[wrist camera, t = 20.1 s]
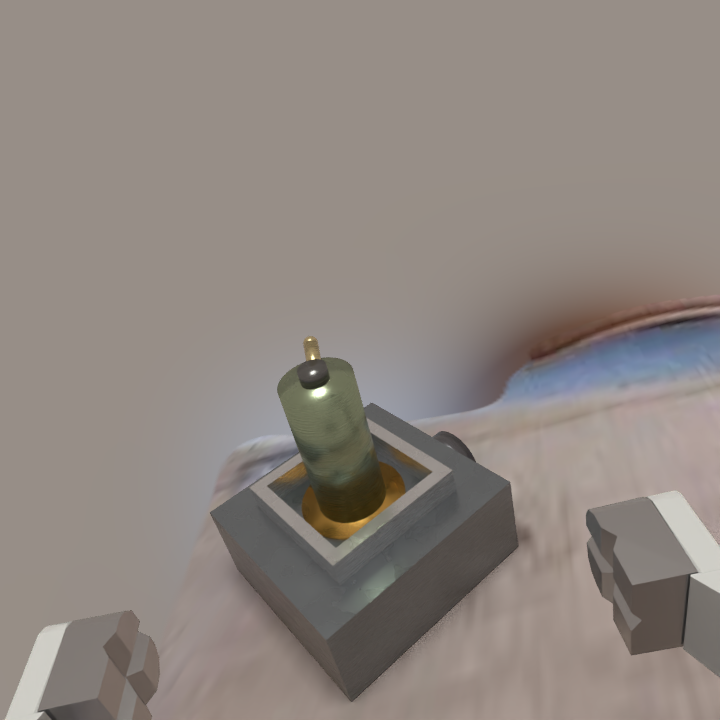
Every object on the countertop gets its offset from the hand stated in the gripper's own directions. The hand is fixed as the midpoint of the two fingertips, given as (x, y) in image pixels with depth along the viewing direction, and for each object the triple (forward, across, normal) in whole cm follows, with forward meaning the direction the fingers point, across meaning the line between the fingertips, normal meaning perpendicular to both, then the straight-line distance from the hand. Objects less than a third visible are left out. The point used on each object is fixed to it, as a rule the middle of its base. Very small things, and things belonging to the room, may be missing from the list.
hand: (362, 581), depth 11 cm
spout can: (+28, +4, +25) cm, 37 cm away
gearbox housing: (+28, +4, +32) cm, 43 cm away
